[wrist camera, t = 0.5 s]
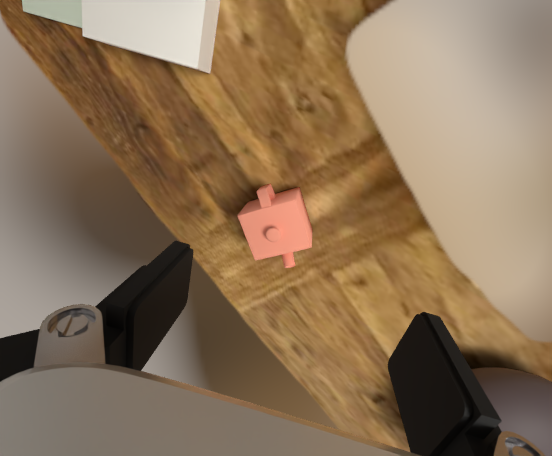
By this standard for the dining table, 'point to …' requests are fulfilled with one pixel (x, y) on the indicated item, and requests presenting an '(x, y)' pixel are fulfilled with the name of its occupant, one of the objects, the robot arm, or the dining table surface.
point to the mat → (56, 10)
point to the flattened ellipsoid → (520, 403)
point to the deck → (156, 28)
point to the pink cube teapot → (276, 224)
